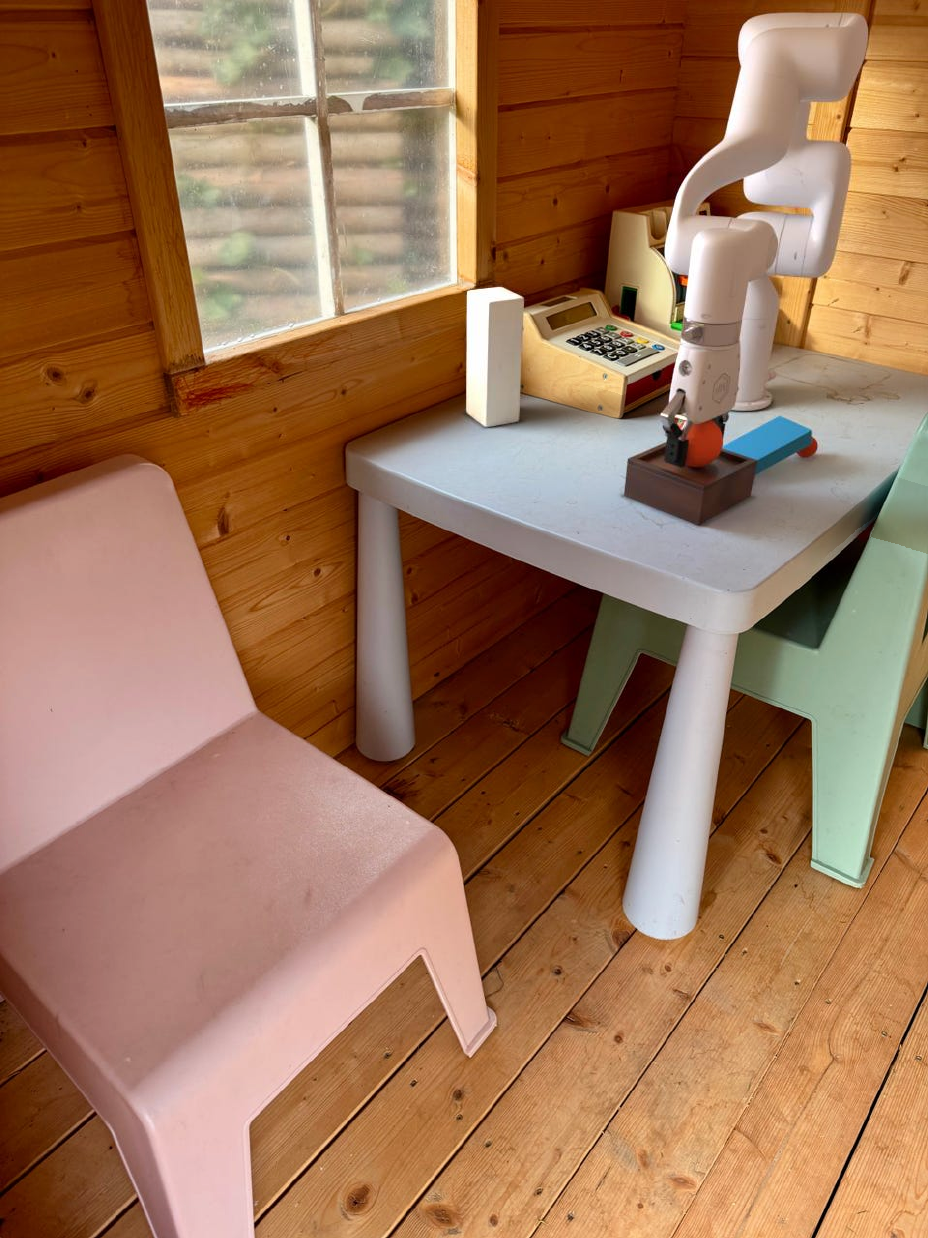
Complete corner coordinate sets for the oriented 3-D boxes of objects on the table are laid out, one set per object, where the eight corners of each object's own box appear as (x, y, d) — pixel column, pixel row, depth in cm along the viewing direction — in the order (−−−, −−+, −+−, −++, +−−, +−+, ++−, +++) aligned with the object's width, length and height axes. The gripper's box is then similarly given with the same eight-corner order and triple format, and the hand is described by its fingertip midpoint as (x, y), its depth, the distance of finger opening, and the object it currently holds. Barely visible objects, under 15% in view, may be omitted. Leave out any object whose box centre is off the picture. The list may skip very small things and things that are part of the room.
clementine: (659, 471, 127) (665, 423, 123) (664, 452, 133) (670, 405, 129) (718, 477, 126) (726, 428, 122) (720, 458, 131) (727, 410, 127)
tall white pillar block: (524, 421, 157) (528, 296, 146) (486, 428, 155) (487, 301, 143) (502, 406, 163) (504, 285, 152) (465, 413, 161) (465, 290, 149)
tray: (677, 470, 140) (681, 434, 137) (750, 497, 132) (757, 459, 129) (623, 495, 132) (627, 458, 129) (698, 525, 124) (704, 486, 121)
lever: (739, 510, 138) (830, 458, 142) (736, 471, 134) (831, 419, 138) (709, 492, 143) (798, 443, 147) (706, 455, 139) (798, 405, 143)
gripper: (695, 351, 112) (678, 481, 121) (772, 324, 122) (750, 446, 131) (646, 338, 116) (633, 465, 126) (724, 313, 126) (706, 432, 136)
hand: (693, 455), depth 129 cm, fingers open, 8 cm apart
